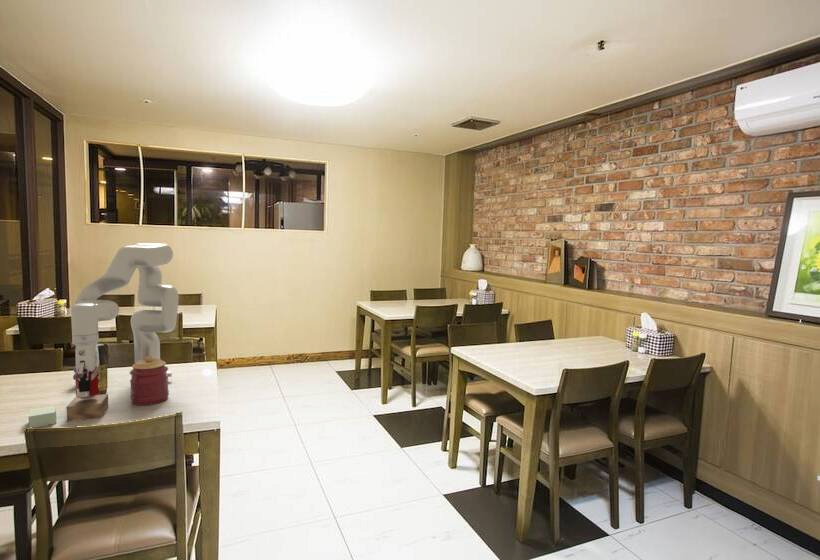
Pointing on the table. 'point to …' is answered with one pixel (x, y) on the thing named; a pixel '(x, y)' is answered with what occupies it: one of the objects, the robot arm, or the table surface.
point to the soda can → (93, 384)
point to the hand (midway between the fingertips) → (87, 387)
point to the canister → (149, 381)
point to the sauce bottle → (102, 370)
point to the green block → (42, 416)
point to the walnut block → (87, 407)
